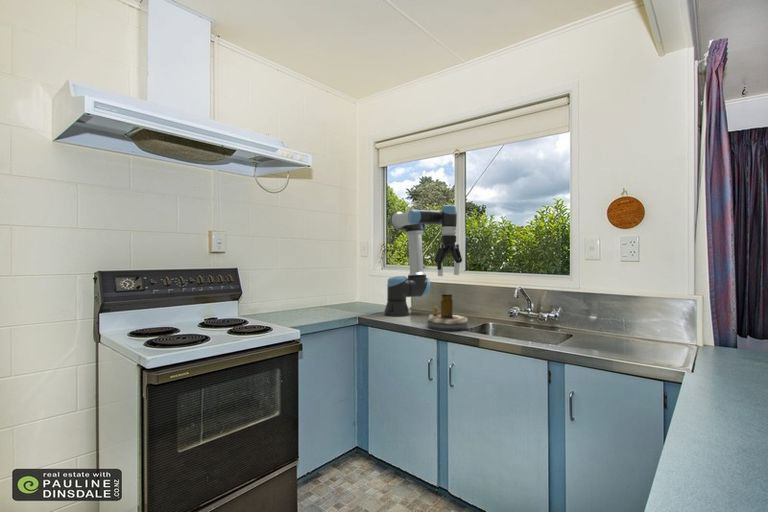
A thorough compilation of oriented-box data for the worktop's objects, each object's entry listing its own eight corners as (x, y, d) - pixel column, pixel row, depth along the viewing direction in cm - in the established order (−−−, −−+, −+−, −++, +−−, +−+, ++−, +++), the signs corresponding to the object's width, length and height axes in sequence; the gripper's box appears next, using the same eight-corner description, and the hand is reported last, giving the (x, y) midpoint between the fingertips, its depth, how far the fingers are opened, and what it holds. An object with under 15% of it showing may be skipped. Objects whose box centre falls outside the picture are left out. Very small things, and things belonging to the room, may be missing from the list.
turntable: (425, 322, 199) (425, 310, 198) (432, 316, 218) (432, 304, 218) (465, 325, 193) (465, 312, 192) (469, 318, 212) (469, 306, 212)
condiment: (442, 315, 211) (443, 293, 210) (458, 317, 207) (458, 294, 206) (438, 317, 204) (438, 294, 204) (453, 319, 200) (454, 295, 200)
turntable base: (421, 323, 213) (422, 314, 213) (458, 322, 218) (458, 313, 218) (435, 332, 193) (436, 321, 192) (475, 330, 197) (475, 320, 197)
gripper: (439, 234, 195) (438, 277, 195) (469, 235, 212) (468, 274, 212) (427, 234, 200) (427, 276, 201) (457, 235, 217) (457, 274, 218)
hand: (448, 275), depth 207 cm, fingers open, 13 cm apart
